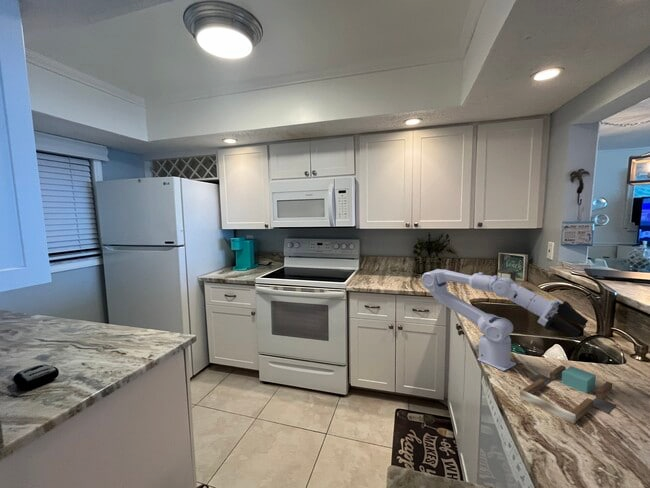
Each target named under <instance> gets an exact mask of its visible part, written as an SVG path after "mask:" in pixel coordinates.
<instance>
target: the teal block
mask: <svg viewBox="0 0 650 488" xmlns="http://www.w3.org/2000/svg"><path fill="white" fill-rule="evenodd" d="M596 378H597V375H596V374H594V373H591V372H589V371H585V370H583V369H581V368H577V367H576V366H568V367H566V370H564V371H562V375H561V384H562V385H565V386H567V387H569V388H572V389H575V390H577V391H579V392H581V393H584V394H588V393H590V391H592V390H593V389H595V388H596Z"/></svg>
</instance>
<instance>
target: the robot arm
mask: <svg viewBox="0 0 650 488" xmlns="http://www.w3.org/2000/svg"><path fill="white" fill-rule="evenodd" d="M421 282H422V286H423V288H425V289H426V290H427V291H428V292H429V293H430V295H431V296H432V297H433V299H434V300H435V301H437V302H439V303H440V304H442V305H443V306H446V307H447V308H449V309H450V310H452V311H454V312H455V313H457V314H458V315H460V316H462V317H463V318H466V320H468V321H470V322H472V323H473V324H475V325H476V326H477V327H478V330H479V332H481V333H482V335H481V337H480V338H479V341H478V358H477V361H479V362H482V363H484V364H486V365H489V366H490V367H493V368H496V369H497V370H500V371H502V372H505V371H508V370H509V369H510V368H513V367H515V366H516V365H517V363H516V362H514V361H511V358H512V357H511V355H512V354H511V353H512V352H511V351H512V338H511V337H510V334H512V333H513V331H514V325H513V323H512V322H511V320H509V319H507V318H506V317H500V316H497V315H495V314H493V313H487V312H485V311H483V310H481V309H480V308H478V307H475V306H474V305H472V304H470V303H469V302H467V301H465V300H464V299H461V298H460V297H458V296H456V295H455V294H453V293H452V292H449V291H448V288H447V285H448V282H454V283H460V284H466V285H470V287H471V288H472V289H474V290H479V291H483V292H486V293H494V294H495V296H496V297H499V298H506V299H508V300H509V301H511V302H513V303H514V304H516V305H518V306H520V307H522V308H524V309H526V310H527V311H529V312H531V313H532V314H535V315H536V316H538V317H539V319H538V320H537V323H538V324H540V325H541V326H543V327H544V329H545V330H547V331H553V332H559V333H562V334H565V335H568V336H571V337H573V338H578V336H579V335H580V334H581V333H582V331H581V330H580V329H578V328H577V327H575V326H574V325H572V324H569V323H568V322H567V321H566V320H568V321H570V322H573V323H575V324H577V325H580V326H582V327H584V326H586V325H587V323H588V322H589V320H588V318H587V317H585V316H583V315H582V314H581V313H579V312H578V311H577V310H575V308H574V307H573V306H572V305H571V304H570V302H568V301H566V300H564V301H562V300H559V299H558V298H556V299H553V300H552V301H551V300H549V299H547V298H545V297H543V296H540V295H539V294H537V293H535V292H534V291H533V292H532V291H531V290H529V289H528V288H525V287H523V286H521V285H519V284H517V283H516V282H515V283H514V281H513V280H512V279H510V278H508V277H505V276H503V277H500V278H498V275H493V276H492V275H487V274H484V272H480V271H479V272H478V273H477V272H476V273H473V274H472V275H470V274H466V273H462V272H457V271H452V270H448V269H441V268H436V269H434V270H431V271H427V272H424V273H423V274H422V276H421Z"/></svg>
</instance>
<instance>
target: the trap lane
mask: <svg viewBox="0 0 650 488" xmlns="http://www.w3.org/2000/svg"><path fill="white" fill-rule="evenodd" d="M566 369H567V367H566V366H564V365H562V364H561V365H559V366H558V367H556V368H555V369H553V370H551V371H550V372H549V376H546V375H543V374H542V373H538V374H536V375H534V376H533V377H531V378H529V381H531V382H532V383H531V384H529V385H528V386H526V387H524V388H523V389H521V390H520V391H519V399H521V400H524V401H526V402H528V403H530V404H532V405H533V406H536V407H538V408H540V409H542V410H544V411H547V412H548V413H550V414H552V415H554V416H557V417H558V418H560V419H562V420H564V421H566V422H568V423H571V424H573V425H574V424H575V423H577V422H578V421H579V420H580V419H581V418H582V417H583V416H584V415H585V414H587V413H588V412H590V410H591V409H592V408H594V409H597V410H598V411H601V412H603V413H606V414H609V413H610V412H611V411H612V410H613V409H614V408H615V407H616V406H617V404H616V403H613V402H611V401H608V400H607V399H606V400H605V399H604V398H605V397H606V396H607V395H608V394H609V393H611V392H612V391H613V385H614V384H613V383H612V382H609V381H606V382H604V383H603V384H602V385H601V386H600V387H598V388H597V389H596V391H595V398H593V399H592V398H589V397H587V398H585V399H583V401H582V402H580V404H578V405H577V406H576V407H574V409H573V408H572V410H571V411H569V410H566V409H564V408H562V407H560V406H558V405H556V404H554V403H551V402H549V401H547V400H545V399H544V398H541V397H539V396H537V395H534V394H536V393H537V392H539V391H540V390H542V389H543V388H545V387H546V385H548V384H549V383H551V382H552V381H555V380H556V379H558V378H560V377H562V371H564V370H566Z"/></svg>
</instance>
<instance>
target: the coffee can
mask: <svg viewBox="0 0 650 488" xmlns="http://www.w3.org/2000/svg"><path fill="white" fill-rule="evenodd" d="M516 272H517V270H514V269H497V276H498V278H500V277H503V276H505V277H508V278H510V279H512V280H513V281H514V283H515V284H516V283H517V282H516V279H517V278H516V277H517V275H516Z"/></svg>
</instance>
